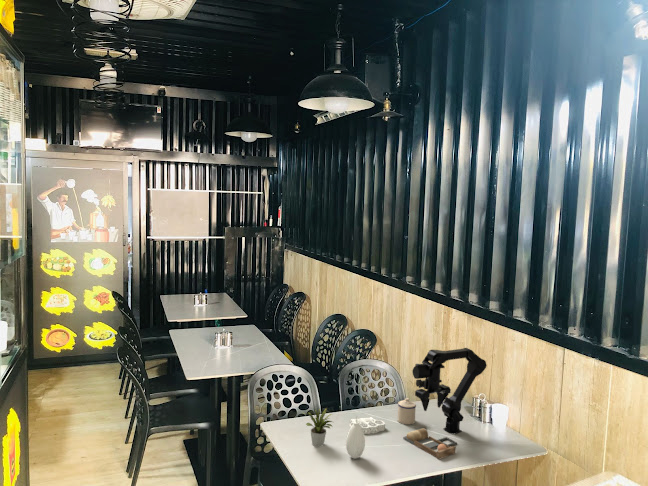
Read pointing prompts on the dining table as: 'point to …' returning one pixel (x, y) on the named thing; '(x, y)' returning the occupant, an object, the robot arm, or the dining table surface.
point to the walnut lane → (439, 453)
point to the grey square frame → (448, 440)
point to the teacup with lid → (406, 411)
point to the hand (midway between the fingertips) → (432, 409)
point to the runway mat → (424, 442)
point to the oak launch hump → (417, 435)
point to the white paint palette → (369, 425)
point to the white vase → (355, 440)
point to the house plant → (318, 428)
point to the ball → (441, 447)
